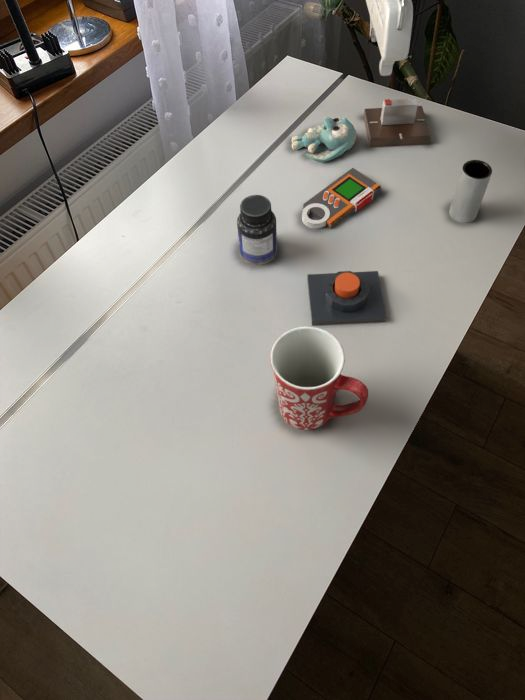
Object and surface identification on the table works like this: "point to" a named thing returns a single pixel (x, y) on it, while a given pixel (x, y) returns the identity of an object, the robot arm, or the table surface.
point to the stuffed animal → (327, 138)
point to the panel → (396, 130)
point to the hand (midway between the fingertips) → (380, 55)
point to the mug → (312, 378)
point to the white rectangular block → (398, 111)
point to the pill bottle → (257, 230)
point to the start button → (347, 285)
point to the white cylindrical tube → (470, 190)
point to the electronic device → (339, 200)
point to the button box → (345, 300)
